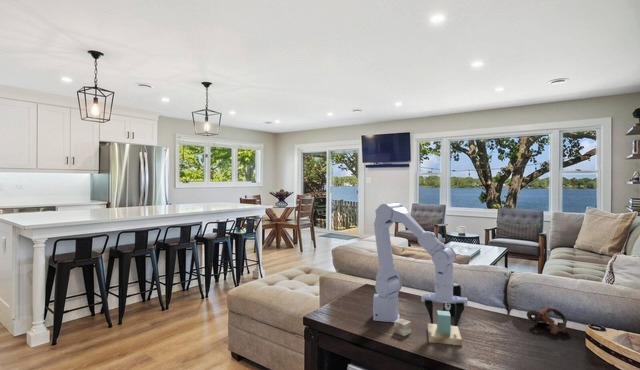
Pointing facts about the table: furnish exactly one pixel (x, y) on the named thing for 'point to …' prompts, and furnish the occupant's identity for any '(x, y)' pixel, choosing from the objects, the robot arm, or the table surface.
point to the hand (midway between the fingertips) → (443, 323)
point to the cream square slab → (444, 335)
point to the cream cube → (402, 327)
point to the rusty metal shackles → (547, 319)
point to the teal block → (443, 322)
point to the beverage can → (456, 292)
